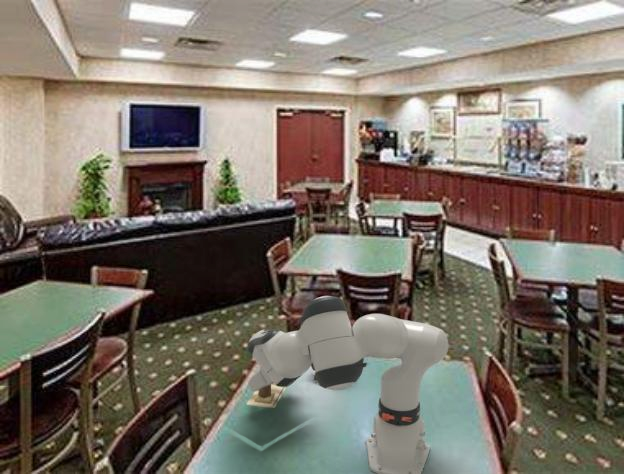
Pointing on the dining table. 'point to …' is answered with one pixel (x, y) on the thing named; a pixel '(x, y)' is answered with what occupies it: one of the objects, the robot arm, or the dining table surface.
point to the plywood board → (274, 402)
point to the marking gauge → (265, 395)
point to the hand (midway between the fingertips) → (264, 384)
